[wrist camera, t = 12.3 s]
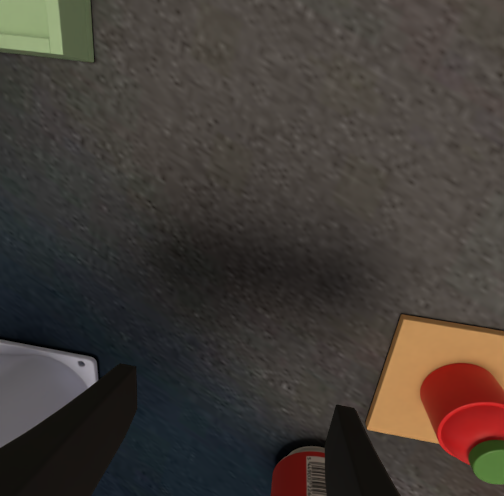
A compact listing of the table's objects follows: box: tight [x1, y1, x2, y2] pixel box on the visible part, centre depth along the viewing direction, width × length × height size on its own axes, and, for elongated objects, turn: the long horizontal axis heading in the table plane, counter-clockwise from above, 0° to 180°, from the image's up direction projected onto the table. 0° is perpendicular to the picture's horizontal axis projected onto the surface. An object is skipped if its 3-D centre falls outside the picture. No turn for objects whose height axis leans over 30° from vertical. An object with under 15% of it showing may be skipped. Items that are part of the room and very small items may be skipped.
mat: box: [366, 314, 504, 444], centre depth 21 cm, size 9×9×1 cm
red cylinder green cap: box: [420, 363, 504, 484], centre depth 19 cm, size 4×4×5 cm
